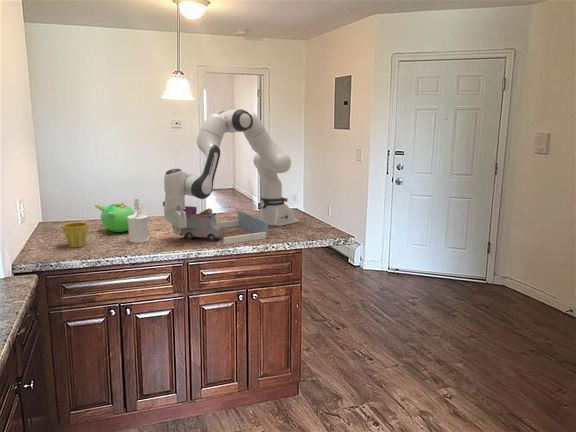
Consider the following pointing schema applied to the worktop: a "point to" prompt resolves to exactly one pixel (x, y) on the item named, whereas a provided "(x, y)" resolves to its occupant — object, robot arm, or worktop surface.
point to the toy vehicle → (201, 224)
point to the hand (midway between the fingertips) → (176, 233)
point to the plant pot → (75, 233)
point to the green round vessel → (115, 216)
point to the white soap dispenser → (138, 225)
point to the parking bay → (249, 223)
